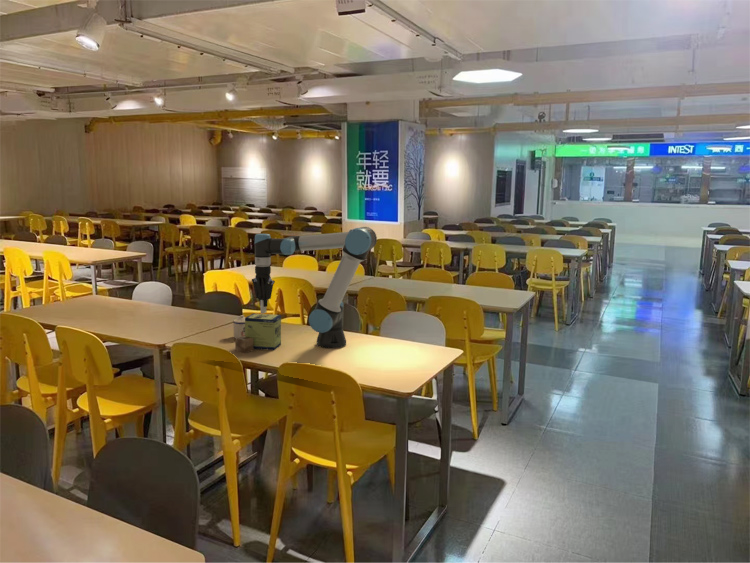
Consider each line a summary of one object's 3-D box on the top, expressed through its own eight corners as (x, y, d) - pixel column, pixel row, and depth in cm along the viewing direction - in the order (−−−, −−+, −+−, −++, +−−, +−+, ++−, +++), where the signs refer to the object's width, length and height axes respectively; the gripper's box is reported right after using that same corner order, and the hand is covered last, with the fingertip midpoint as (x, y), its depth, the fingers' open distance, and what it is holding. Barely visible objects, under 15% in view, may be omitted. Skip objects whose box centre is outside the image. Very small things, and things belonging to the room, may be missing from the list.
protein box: (275, 350, 278) (274, 319, 275) (244, 348, 280) (244, 317, 277) (281, 344, 288) (281, 314, 285) (252, 342, 290) (252, 313, 288)
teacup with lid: (243, 340, 294) (242, 318, 293) (229, 337, 299) (229, 316, 297) (258, 335, 305) (258, 314, 303) (245, 332, 309) (244, 312, 307)
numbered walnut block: (253, 350, 277) (253, 337, 276) (244, 353, 272) (244, 340, 271) (244, 348, 280) (243, 335, 279) (235, 351, 275) (235, 338, 274)
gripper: (247, 265, 277) (248, 312, 281) (268, 267, 271) (268, 315, 275) (257, 263, 284) (258, 310, 287) (278, 265, 277) (278, 313, 281)
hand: (263, 312), depth 281 cm, fingers closed
